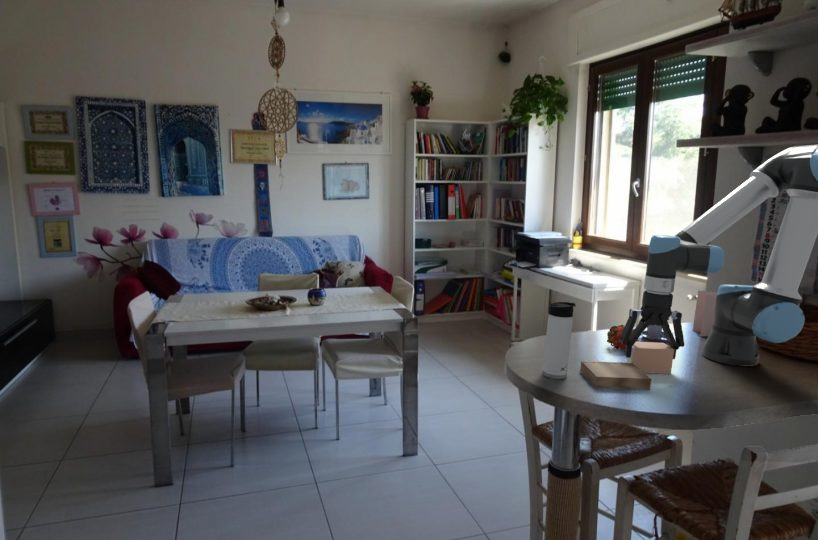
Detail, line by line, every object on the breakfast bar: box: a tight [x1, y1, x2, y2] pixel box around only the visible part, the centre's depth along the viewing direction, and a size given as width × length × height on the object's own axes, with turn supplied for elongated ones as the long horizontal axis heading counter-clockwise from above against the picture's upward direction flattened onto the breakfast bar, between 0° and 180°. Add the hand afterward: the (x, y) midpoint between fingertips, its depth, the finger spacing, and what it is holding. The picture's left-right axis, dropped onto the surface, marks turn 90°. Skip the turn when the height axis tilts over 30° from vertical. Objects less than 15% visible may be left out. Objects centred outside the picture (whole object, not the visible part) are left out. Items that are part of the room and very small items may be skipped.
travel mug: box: [542, 301, 576, 380], centre depth 147 cm, size 6×7×20 cm
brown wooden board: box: [579, 360, 652, 391], centre depth 147 cm, size 14×12×3 cm
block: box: [633, 341, 674, 375], centre depth 156 cm, size 10×6×7 cm, turn 91°
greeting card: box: [692, 290, 717, 337], centre depth 196 cm, size 11×7×15 cm, turn 66°
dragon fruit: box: [606, 324, 640, 351], centre depth 175 cm, size 8×8×12 cm
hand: (648, 369), depth 156 cm, fingers closed on block, 10 cm apart
